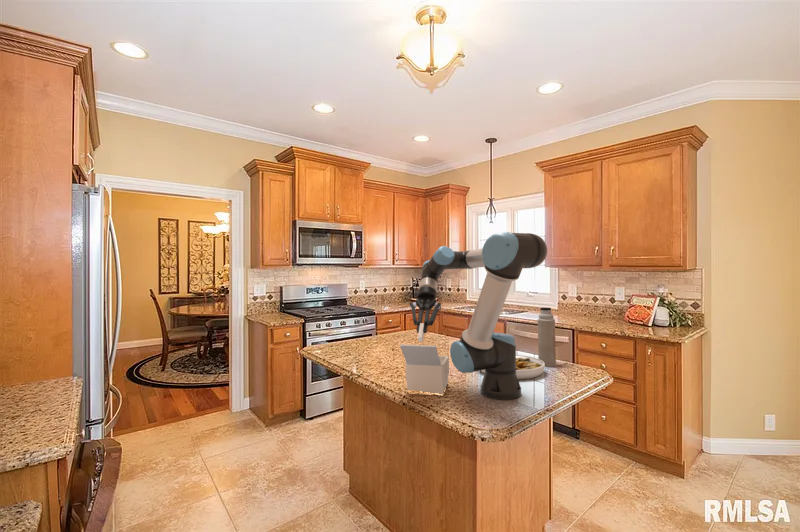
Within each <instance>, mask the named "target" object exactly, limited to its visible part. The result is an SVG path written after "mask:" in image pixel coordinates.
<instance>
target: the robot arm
mask: <svg viewBox="0 0 800 532" xmlns="http://www.w3.org/2000/svg"><path fill="white" fill-rule="evenodd" d="M547 255H548V246H547V243H546V241H545V240H544V239H543V237H541V236H540V235H538V234H534V233H529V232H527V233H525V232H509V231H504V232H496V233H494V234H491V235H490V236H489V237H488V238H487V239H486V240H485V242H484V244H483V246H482V248H477V249H471V250H464V251H463V250H462V251H459V250H458V251H455V250H454V251H453V249H452V248H450V246H447V245H442V246H440V247H438V248H437V250H436V251H434V253H433V255H432V256H431V258H429V259H428V260H426V261H424V262H423V264H422V267H421V273H420V280H419V285H418V291H417V292H418V293H417V296H416V297H417V298H416V300H415V301H414V302H409V306H410V310H411V314H412V322H413V325H414V326H416V333H417V339H418V342H419V343H420V342H422V343H423V342H424V336H425V334H427V333H428V328H429V326H433V325H434V323H435V321H436V318H437V315H438V313H439V312H440V310H441V309H442V304H441V302H437V291H438V285H439V284H438V283H439V278H440V276H441V275H442V274H443V273H444V271H445V270H468V269H469V270H472V269H477V268H484V270H485V272H486V276H485V279H484V281H483V284H482V287H481V290H480V293H479V296H478V299H477V301H476V305H475V308H474V311H473V314H472V317H471V319H470V322H469V326H468V328H467V329H466V328H465V330H463V331H462V333H461V336H460V338H459V340H455V341H453V342H452V343H451V345H450V347H449V348H450V350H449V354H450V358H451V362H452V364H453V367H455V369H457V371H458V372H460V373H462V374H469V373H470V374H471V373H475V372H479V371H481V370H485V373H483V374H484V375H483V378H482V381H481V384H480V393H481V394H482V395H483V396H484V397H486V396H487V398H489V397H490V399H494V400H514V399H518V398H520V397H521V396H522V386H521V384H520V382H519V380H518V378H517V375H516V355H517V348H516V347H517V345H516V339H515V337H514V335H512V334H509V333H503V332H494V331H495V329H496V326H497V324H498V321H499V318H500V315H501V312H502V310H503V307H504V305H505V302H506V299H507V296H508V295H509V291H510V288H511V287H512V284H513V282H514V281H517V280H519V278H520V276H521V273H522V271H523V269H532V268H536V267H538V266H540V265H541V264H543V262H545V260H546V258H547ZM417 307H418V316H417V312H416V308H417ZM432 309H433V310H432ZM431 311H432V312H431ZM430 314H431V315H430ZM423 316H424V317H423ZM423 318H424V320H423Z"/></svg>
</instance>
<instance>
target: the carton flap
mask: <svg viewBox="0 0 800 532" xmlns="http://www.w3.org/2000/svg"><path fill="white" fill-rule="evenodd" d="M399 347H400V349H401V351H402V356H403V357H404V360H405V363H407V364H411V365H431V366H441V363H440V359H439V356H440V355H439V353H438V348H437V345H429V344H428V345H425V344H424V345H423V344H399Z"/></svg>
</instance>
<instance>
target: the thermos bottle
mask: <svg viewBox="0 0 800 532" xmlns="http://www.w3.org/2000/svg"><path fill="white" fill-rule="evenodd" d="M554 316H555V315H554V314H553V313H552V308H551V307H540V313H539V314H538V318H537V344H538V345H537V346H538V352H537V353H538V354H537V355H538V358H537V359H540V360H542V361H543V362H544V363H545V368H553V367H552V366H555V367H556V366H557V355H556V354H557V352H556V351H557V350H556V349H557V348H556V319H555V318H554Z"/></svg>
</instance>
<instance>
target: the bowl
mask: <svg viewBox="0 0 800 532" xmlns="http://www.w3.org/2000/svg"><path fill="white" fill-rule="evenodd" d="M545 369H546V367H545V363H544V362H543V361H542V360H540V359H538V358H537V357H534V356H533V357H532V356H530V355H524V354H523V355H522V354H516V375H517V378H518V381H519V379H520V380H529V379H533V378H537V377H539V376H541V375H542V374H543V372H544V371H545ZM480 371H481V373H483V374H485V370H480Z"/></svg>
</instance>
